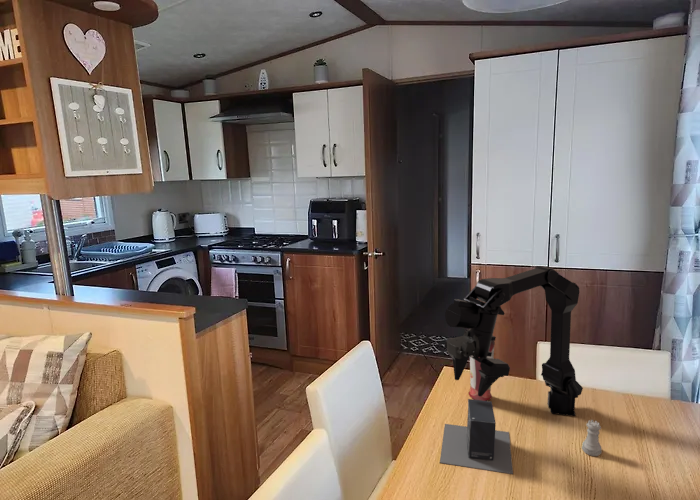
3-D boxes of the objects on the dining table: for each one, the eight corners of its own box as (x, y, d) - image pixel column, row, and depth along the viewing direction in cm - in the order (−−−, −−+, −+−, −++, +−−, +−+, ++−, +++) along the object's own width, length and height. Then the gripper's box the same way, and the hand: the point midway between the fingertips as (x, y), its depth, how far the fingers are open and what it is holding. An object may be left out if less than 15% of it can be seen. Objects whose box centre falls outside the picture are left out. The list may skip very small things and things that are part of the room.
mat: (508, 432, 123) (508, 432, 123) (513, 474, 107) (513, 473, 107) (444, 424, 128) (444, 423, 128) (439, 463, 112) (439, 462, 112)
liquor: (490, 407, 136) (493, 317, 130) (465, 402, 139) (468, 314, 134) (494, 395, 143) (497, 310, 137) (470, 390, 146) (472, 307, 140)
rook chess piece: (599, 447, 116) (602, 419, 114) (603, 458, 112) (605, 429, 110) (580, 444, 118) (582, 416, 116) (582, 455, 113) (585, 426, 112)
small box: (495, 461, 112) (497, 422, 109) (468, 458, 113) (469, 420, 111) (491, 436, 122) (492, 400, 120) (466, 433, 123) (467, 398, 121)
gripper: (434, 315, 120) (421, 372, 122) (482, 340, 103) (466, 405, 105) (467, 319, 125) (454, 373, 126) (518, 343, 108) (502, 404, 110)
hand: (467, 387), depth 117 cm, fingers open, 9 cm apart
